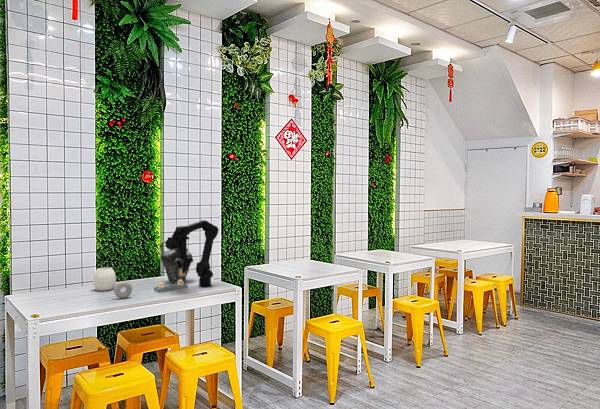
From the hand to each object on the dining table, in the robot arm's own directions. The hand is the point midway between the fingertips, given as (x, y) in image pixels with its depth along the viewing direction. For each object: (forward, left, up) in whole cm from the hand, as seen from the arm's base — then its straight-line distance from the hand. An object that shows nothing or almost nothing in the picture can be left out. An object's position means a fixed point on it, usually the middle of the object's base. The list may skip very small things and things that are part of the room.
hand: (182, 272), depth 297 cm
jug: (-9, -30, -12) cm, 33 cm away
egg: (0, 0, -2) cm, 2 cm away
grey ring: (+34, -6, -12) cm, 36 cm away
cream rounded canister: (+35, -38, -12) cm, 53 cm away
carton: (+3, -11, -12) cm, 16 cm away
